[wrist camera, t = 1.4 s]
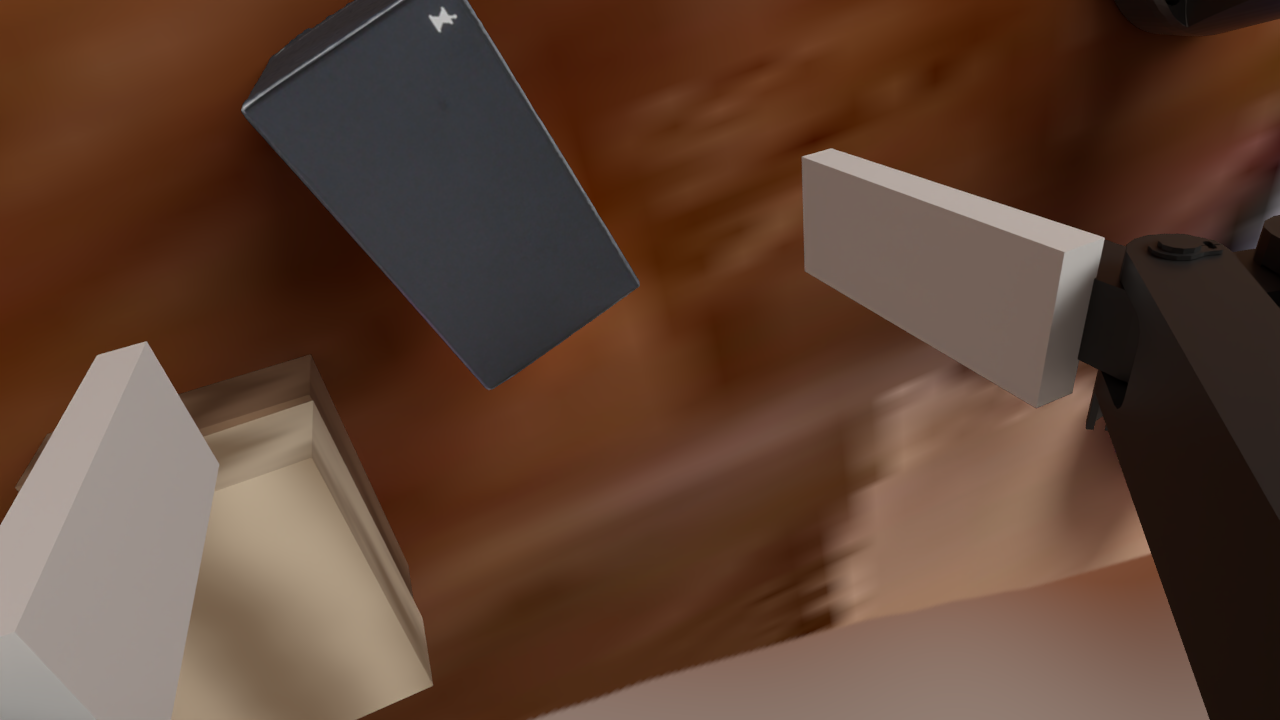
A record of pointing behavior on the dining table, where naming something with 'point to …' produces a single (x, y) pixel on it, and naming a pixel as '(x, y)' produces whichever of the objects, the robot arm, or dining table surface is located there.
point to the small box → (442, 177)
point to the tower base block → (271, 395)
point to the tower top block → (295, 587)
